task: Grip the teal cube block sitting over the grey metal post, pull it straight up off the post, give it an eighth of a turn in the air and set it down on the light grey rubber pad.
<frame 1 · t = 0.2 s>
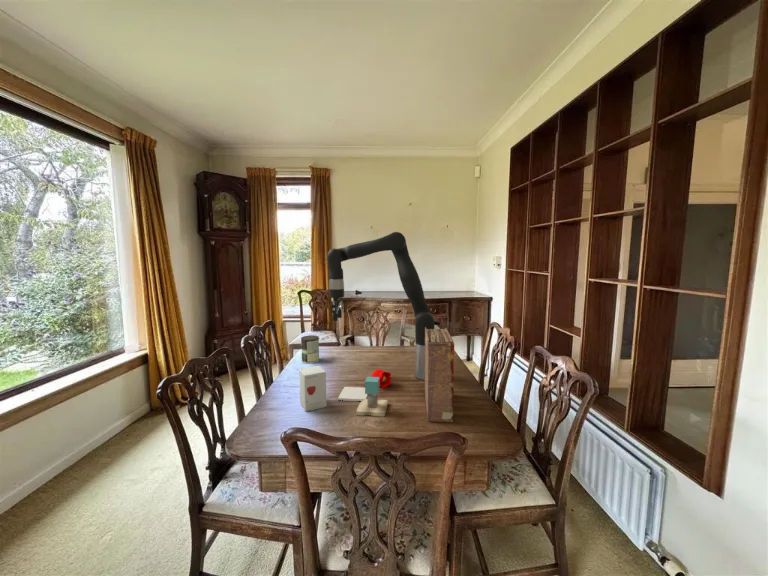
hand: (337, 319, 163), 29 cm above the table, tool pointing down, fingers open, 8 cm apart
post stand: (372, 409, 127), on the table
pad: (354, 395, 140), on the table
flower: (380, 385, 150), on the table
coffee can: (310, 361, 188), on the table
teal cube block: (372, 391, 126), point 7 cm above the table, touching post stand
supplement box: (313, 405, 131), on the table
book: (437, 406, 129), on the table
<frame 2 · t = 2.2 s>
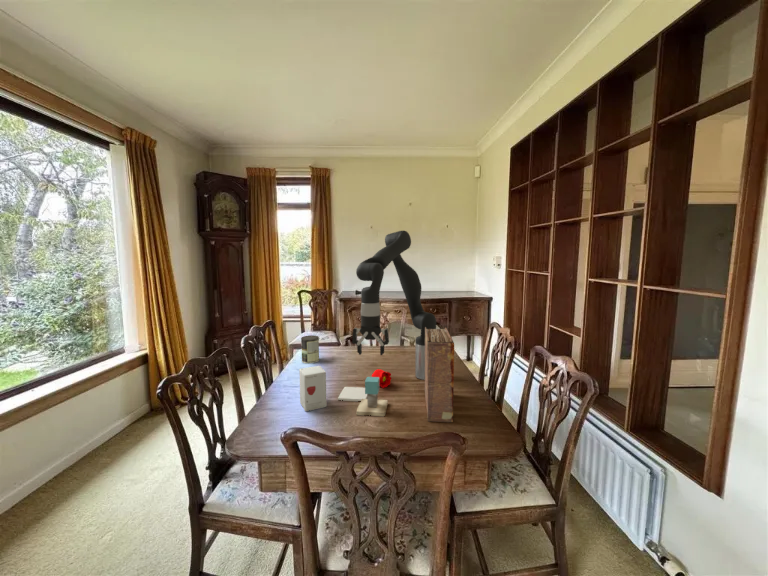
hand: (370, 354, 125), 22 cm above the table, tool pointing down, fingers open, 8 cm apart
nothing on the table moved.
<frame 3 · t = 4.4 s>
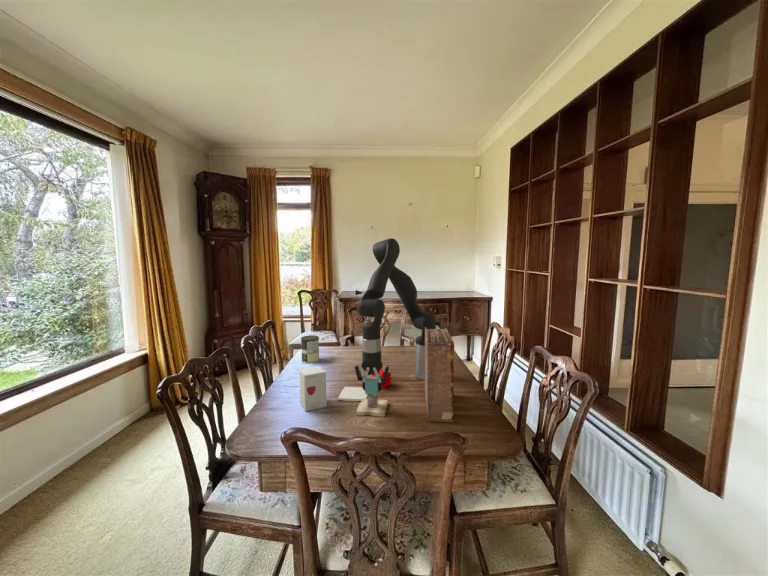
hand: (372, 390, 126), 8 cm above the table, tool pointing down, fingers closed on teal cube block, 5 cm apart
teal cube block: (372, 391, 126), point 7 cm above the table, touching gripper, post stand
everything else where it was.
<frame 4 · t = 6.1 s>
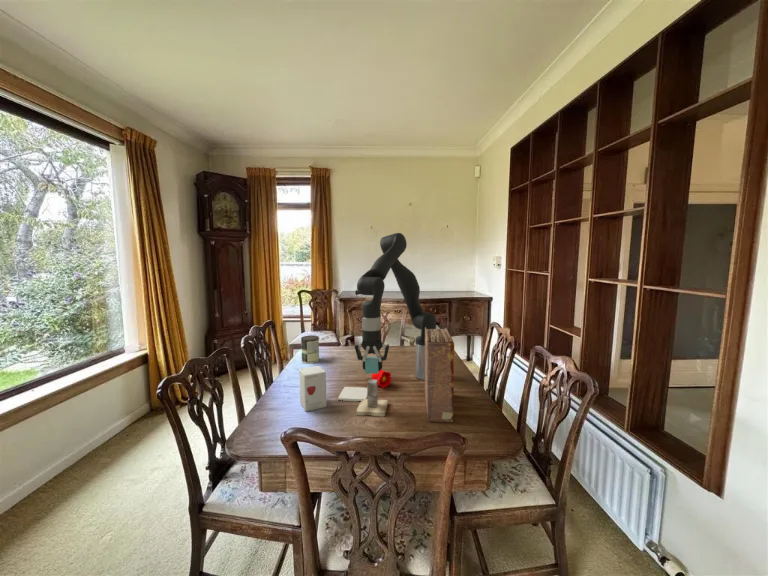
hand: (372, 369, 125), 16 cm above the table, tool pointing down, fingers closed on teal cube block, 5 cm apart
teal cube block: (372, 371, 125), point 16 cm above the table, touching gripper
everything else where it was.
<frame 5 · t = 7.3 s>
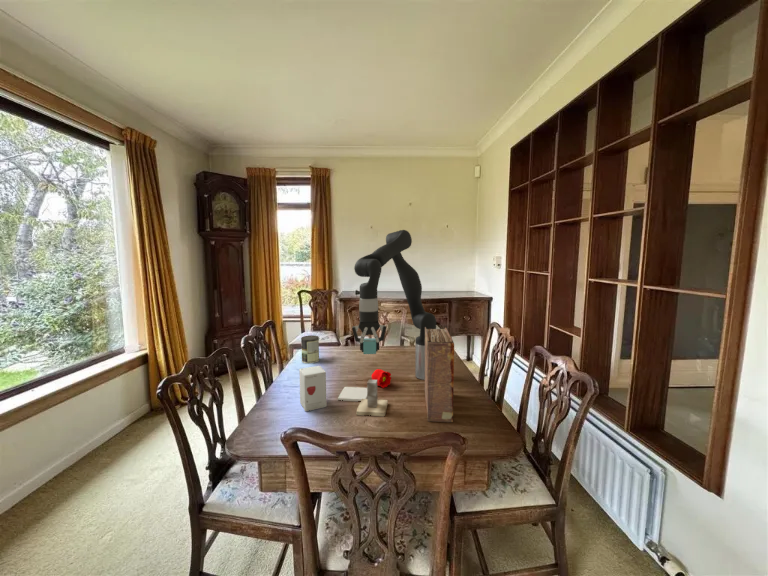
hand: (369, 351, 127), 23 cm above the table, tool pointing down, fingers closed on teal cube block, 5 cm apart
teal cube block: (369, 352, 127), point 23 cm above the table, touching gripper
everything else where it was.
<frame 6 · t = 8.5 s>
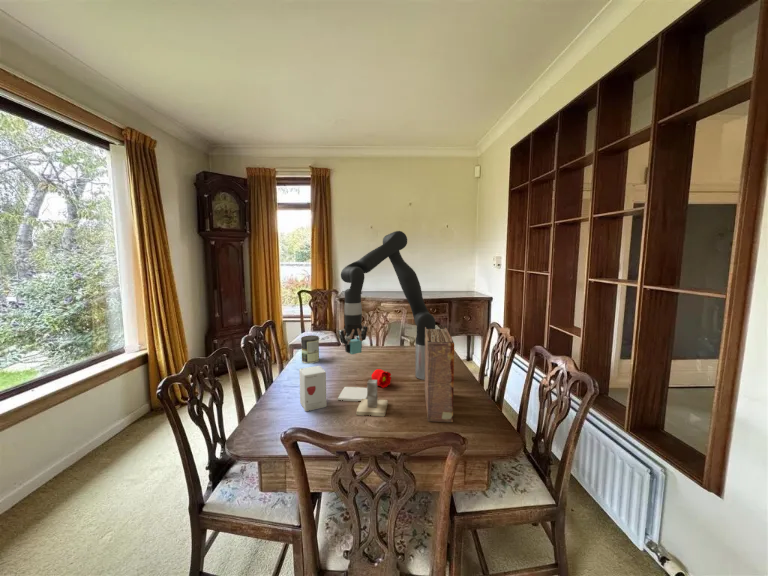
hand: (353, 351, 138), 20 cm above the table, tool pointing down, fingers closed on teal cube block, 5 cm apart
teal cube block: (353, 352, 138), point 20 cm above the table, touching gripper
everything else where it was.
when the fingers open (3 cm above the table, at t = 11.8 s): teal cube block drops 2 cm, resting on pad.
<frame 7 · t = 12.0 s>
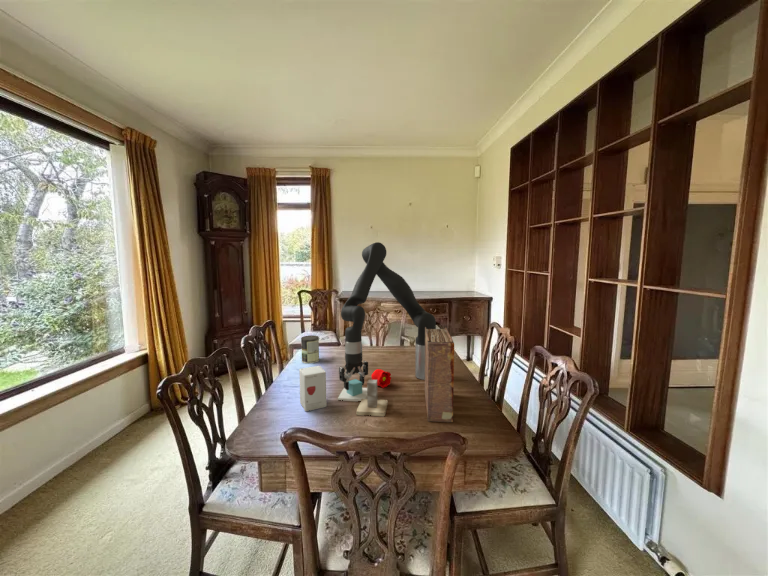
hand: (354, 387, 139), 4 cm above the table, tool pointing down, fingers open, 7 cm apart
teal cube block: (354, 392, 140), point 1 cm above the table, touching pad
everything else where it was.
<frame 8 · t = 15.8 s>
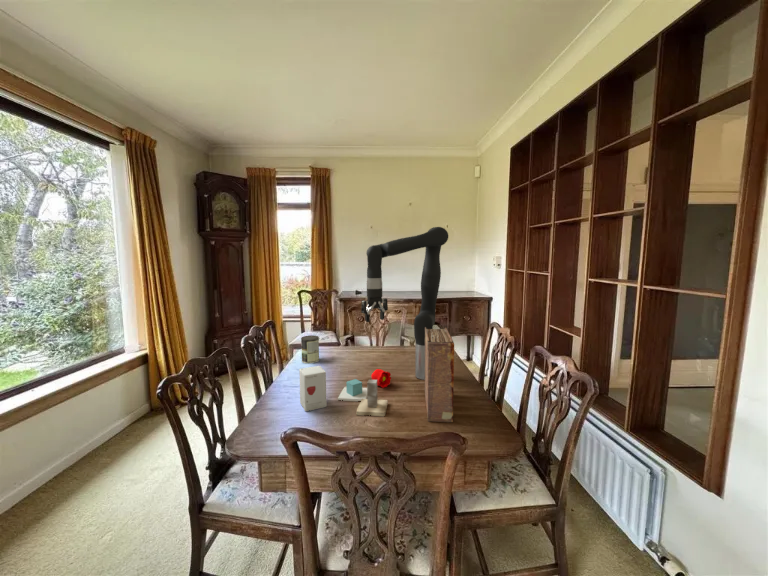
hand: (374, 320, 153), 30 cm above the table, tool pointing down, fingers open, 8 cm apart
nothing on the table moved.
at the end: teal cube block inside the target area on the pad (0.0 cm from its centre), point 1.0 cm above the pad's base; teal cube block tilted 0°; the gripper is holding nothing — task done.
